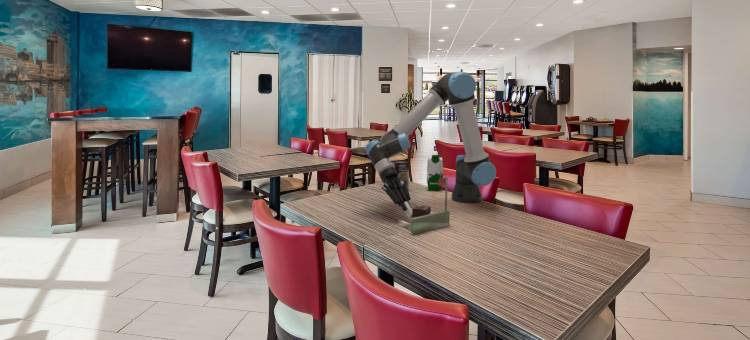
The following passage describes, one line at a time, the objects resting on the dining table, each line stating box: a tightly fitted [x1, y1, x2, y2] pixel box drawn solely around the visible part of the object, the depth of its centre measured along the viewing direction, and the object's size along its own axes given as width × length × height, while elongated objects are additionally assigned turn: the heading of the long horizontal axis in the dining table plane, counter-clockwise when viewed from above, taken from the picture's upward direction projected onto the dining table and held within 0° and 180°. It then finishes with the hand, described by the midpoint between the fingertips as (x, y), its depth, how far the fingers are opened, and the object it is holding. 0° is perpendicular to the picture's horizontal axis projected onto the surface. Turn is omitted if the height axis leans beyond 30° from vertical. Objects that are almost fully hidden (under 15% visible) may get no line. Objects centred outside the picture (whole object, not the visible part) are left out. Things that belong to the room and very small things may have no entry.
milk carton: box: [426, 154, 444, 192], centre depth 245 cm, size 9×9×20 cm
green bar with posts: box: [398, 176, 451, 235], centre depth 176 cm, size 13×20×20 cm, turn 128°
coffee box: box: [391, 160, 410, 191], centre depth 244 cm, size 9×6×16 cm
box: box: [411, 205, 432, 218], centre depth 179 cm, size 6×6×7 cm
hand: (411, 216), depth 181 cm, fingers closed
